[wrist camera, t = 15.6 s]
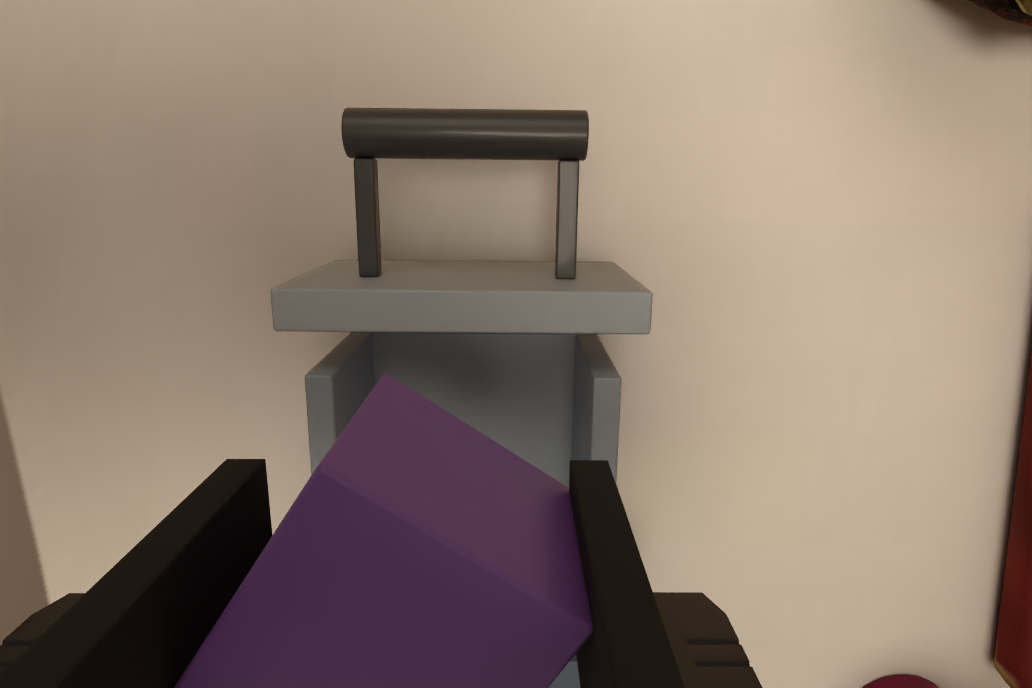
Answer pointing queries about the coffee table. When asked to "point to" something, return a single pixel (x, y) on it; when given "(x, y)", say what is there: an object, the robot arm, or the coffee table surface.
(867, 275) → the coffee table surface
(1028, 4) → the food
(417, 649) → the purple matte cube
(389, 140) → the drawer
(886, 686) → the cup
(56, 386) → the coffee table surface
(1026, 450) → the hardcover book
